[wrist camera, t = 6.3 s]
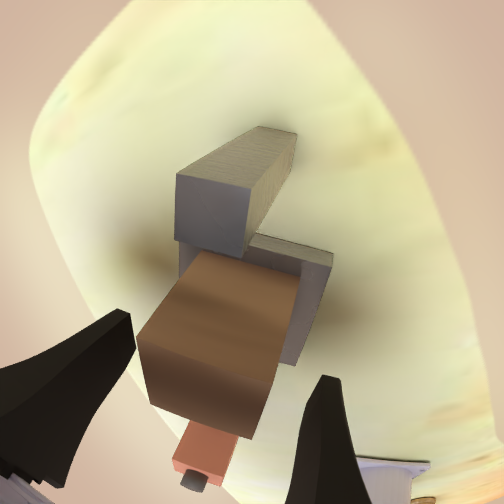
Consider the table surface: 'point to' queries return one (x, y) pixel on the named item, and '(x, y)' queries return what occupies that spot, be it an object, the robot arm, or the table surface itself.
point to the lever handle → (203, 455)
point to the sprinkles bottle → (423, 501)
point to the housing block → (218, 342)
